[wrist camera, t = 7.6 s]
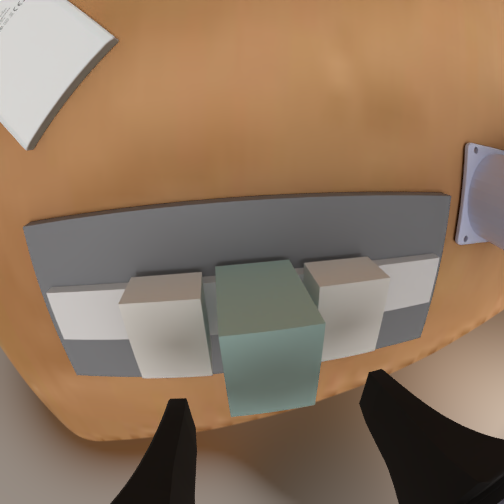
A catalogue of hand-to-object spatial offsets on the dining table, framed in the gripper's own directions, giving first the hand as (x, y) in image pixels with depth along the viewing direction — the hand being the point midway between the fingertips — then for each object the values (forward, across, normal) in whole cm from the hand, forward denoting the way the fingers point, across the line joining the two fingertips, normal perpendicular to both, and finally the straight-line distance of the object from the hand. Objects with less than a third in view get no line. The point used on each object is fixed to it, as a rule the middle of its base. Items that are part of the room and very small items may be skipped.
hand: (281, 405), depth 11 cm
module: (+7, 0, 0) cm, 7 cm away
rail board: (+9, 0, 0) cm, 9 cm away
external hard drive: (+10, +14, -18) cm, 25 cm away
